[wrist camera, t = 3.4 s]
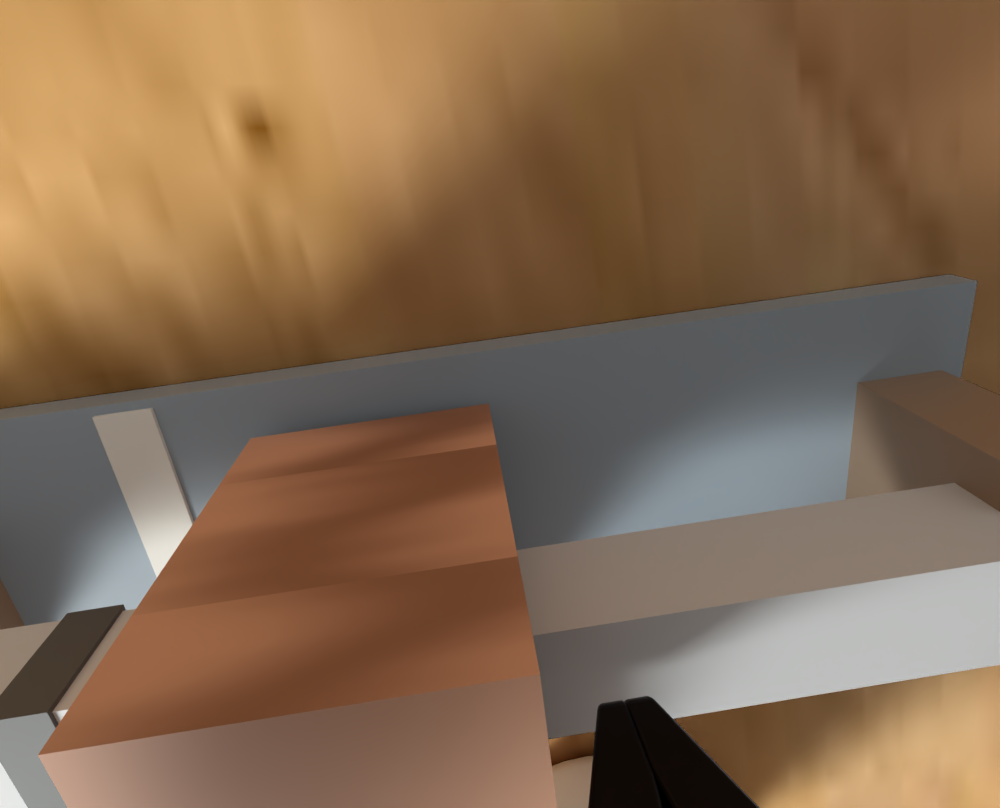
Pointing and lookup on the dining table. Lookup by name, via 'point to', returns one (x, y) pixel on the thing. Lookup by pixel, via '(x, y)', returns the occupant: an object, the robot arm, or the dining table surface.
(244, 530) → the collar
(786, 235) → the dining table surface
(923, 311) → the rail
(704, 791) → the robot arm
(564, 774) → the milk bottle
